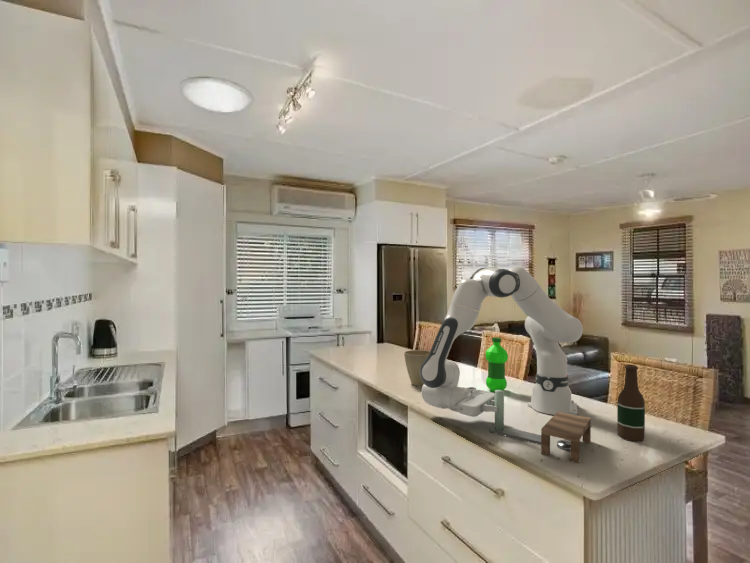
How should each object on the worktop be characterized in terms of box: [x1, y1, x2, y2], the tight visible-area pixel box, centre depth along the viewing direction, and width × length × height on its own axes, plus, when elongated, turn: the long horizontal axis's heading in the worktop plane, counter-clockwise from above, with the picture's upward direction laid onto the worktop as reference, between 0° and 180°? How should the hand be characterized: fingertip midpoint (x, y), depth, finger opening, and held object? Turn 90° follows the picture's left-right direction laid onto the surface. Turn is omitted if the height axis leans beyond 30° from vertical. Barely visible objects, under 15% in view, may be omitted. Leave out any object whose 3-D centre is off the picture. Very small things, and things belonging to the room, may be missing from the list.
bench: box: [540, 412, 592, 464], centre depth 123 cm, size 20×10×8 cm, turn 142°
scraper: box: [489, 390, 541, 446], centre depth 132 cm, size 17×6×14 cm, turn 52°
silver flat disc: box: [556, 439, 571, 452], centre depth 123 cm, size 6×6×1 cm
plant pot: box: [403, 349, 431, 387], centre depth 198 cm, size 15×15×16 cm
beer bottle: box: [616, 364, 646, 443], centre depth 131 cm, size 8×8×24 cm
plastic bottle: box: [485, 336, 509, 393], centre depth 187 cm, size 10×10×25 cm
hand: (500, 407), depth 135 cm, fingers closed on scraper, 3 cm apart
